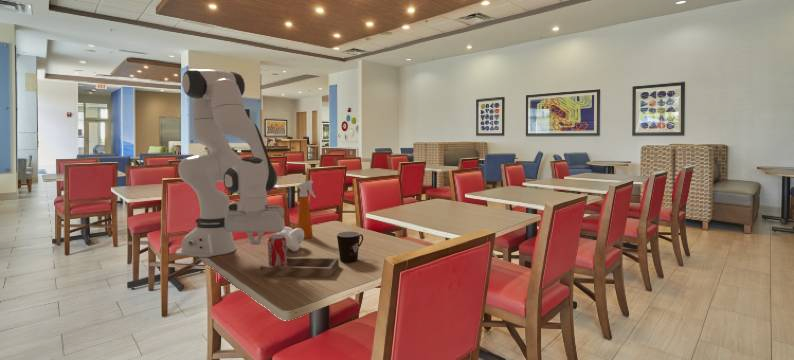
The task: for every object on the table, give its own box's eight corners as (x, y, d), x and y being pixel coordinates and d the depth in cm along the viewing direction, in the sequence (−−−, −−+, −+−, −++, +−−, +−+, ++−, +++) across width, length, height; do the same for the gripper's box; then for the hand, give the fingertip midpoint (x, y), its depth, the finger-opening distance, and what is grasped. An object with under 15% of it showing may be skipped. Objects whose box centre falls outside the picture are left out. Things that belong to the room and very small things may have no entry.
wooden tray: (260, 275, 140) (260, 266, 140) (273, 265, 151) (272, 256, 151) (331, 277, 138) (330, 268, 138) (338, 266, 149) (338, 258, 149)
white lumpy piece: (267, 252, 168) (266, 230, 167) (284, 245, 179) (283, 224, 178) (292, 254, 164) (291, 232, 163) (307, 247, 176) (307, 226, 175)
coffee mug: (342, 265, 151) (341, 238, 150) (334, 258, 158) (333, 233, 157) (371, 260, 156) (371, 234, 155) (362, 254, 164) (362, 229, 163)
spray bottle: (311, 240, 186) (309, 181, 184) (293, 237, 192) (291, 180, 189) (322, 237, 192) (320, 180, 189) (304, 234, 198) (303, 178, 195)
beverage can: (282, 273, 142) (281, 239, 140) (265, 272, 143) (264, 238, 142) (290, 268, 148) (289, 234, 146) (274, 267, 149) (273, 234, 148)
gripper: (286, 203, 146) (288, 242, 147) (230, 203, 147) (232, 241, 149) (280, 206, 139) (281, 247, 141) (221, 206, 141) (223, 246, 143)
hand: (255, 244), depth 145 cm, fingers closed
